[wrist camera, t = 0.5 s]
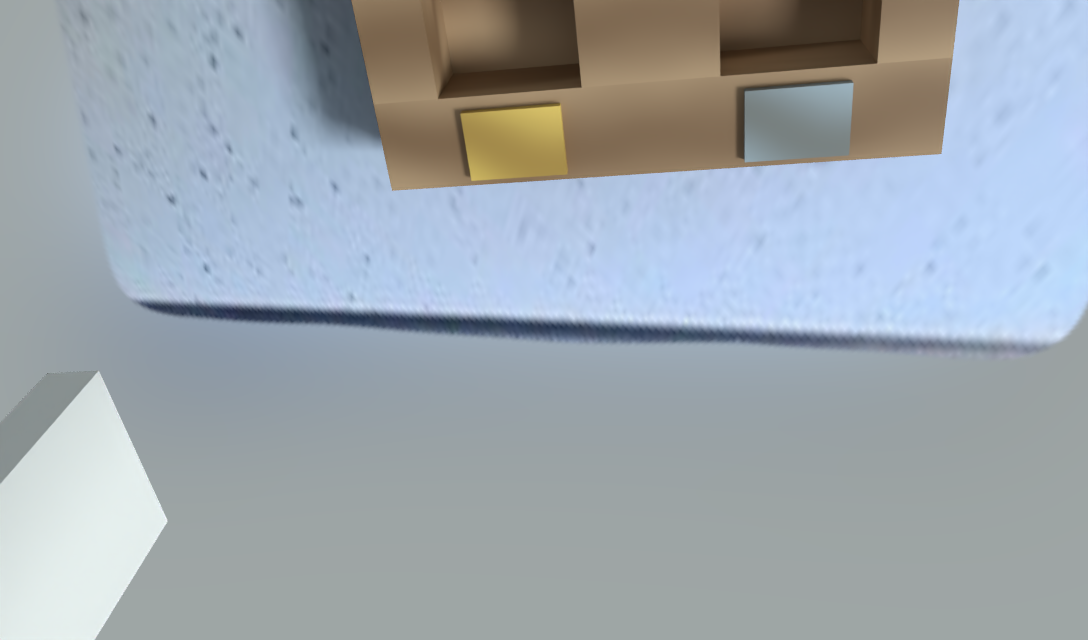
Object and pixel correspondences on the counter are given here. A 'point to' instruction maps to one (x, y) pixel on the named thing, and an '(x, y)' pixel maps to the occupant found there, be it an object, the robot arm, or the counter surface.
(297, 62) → the counter surface
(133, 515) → the robot arm
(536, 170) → the socket block
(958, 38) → the counter surface
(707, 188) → the counter surface
